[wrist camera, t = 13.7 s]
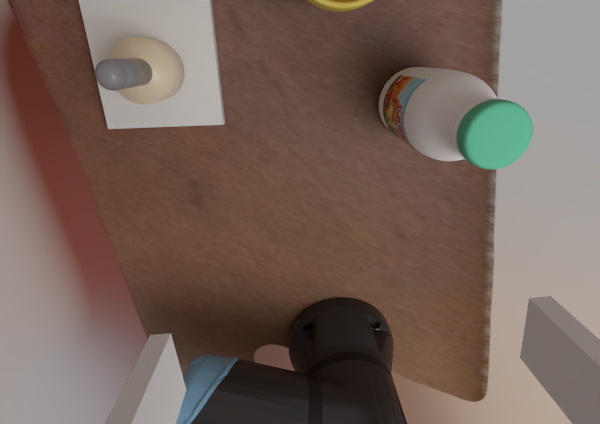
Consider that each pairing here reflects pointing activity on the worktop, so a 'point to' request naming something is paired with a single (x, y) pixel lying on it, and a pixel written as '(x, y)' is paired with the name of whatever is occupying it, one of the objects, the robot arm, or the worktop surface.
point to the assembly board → (176, 32)
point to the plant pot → (339, 4)
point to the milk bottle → (454, 117)
